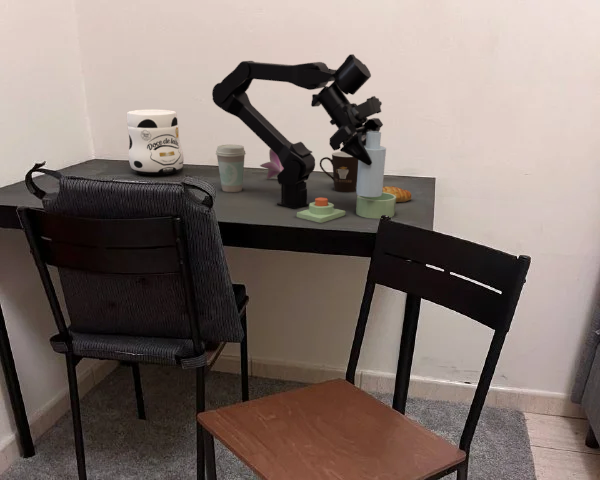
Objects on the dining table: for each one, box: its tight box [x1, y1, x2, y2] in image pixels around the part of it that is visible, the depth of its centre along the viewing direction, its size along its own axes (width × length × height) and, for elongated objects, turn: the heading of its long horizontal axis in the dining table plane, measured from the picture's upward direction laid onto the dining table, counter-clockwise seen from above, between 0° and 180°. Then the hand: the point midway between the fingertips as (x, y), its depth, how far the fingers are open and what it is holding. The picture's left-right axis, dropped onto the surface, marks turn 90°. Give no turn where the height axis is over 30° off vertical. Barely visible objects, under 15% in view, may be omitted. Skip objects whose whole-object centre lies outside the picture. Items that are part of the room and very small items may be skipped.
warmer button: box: [314, 197, 329, 206], centre depth 156 cm, size 3×3×2 cm
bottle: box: [355, 131, 387, 197], centre depth 152 cm, size 6×6×14 cm
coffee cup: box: [215, 144, 247, 193], centre depth 178 cm, size 8×8×12 cm
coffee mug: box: [319, 151, 358, 193], centre depth 182 cm, size 12×9×10 cm
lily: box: [259, 148, 284, 180], centre depth 190 cm, size 12×12×10 cm
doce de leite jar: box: [126, 109, 185, 176], centre depth 196 cm, size 17×17×18 cm
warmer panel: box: [296, 201, 346, 224], centre depth 157 cm, size 8×10×3 cm
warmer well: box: [355, 192, 397, 220], centre depth 160 cm, size 10×10×4 cm
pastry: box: [382, 185, 412, 203], centre depth 173 cm, size 9×7×4 cm
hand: (376, 162), depth 151 cm, fingers closed on bottle, 6 cm apart
